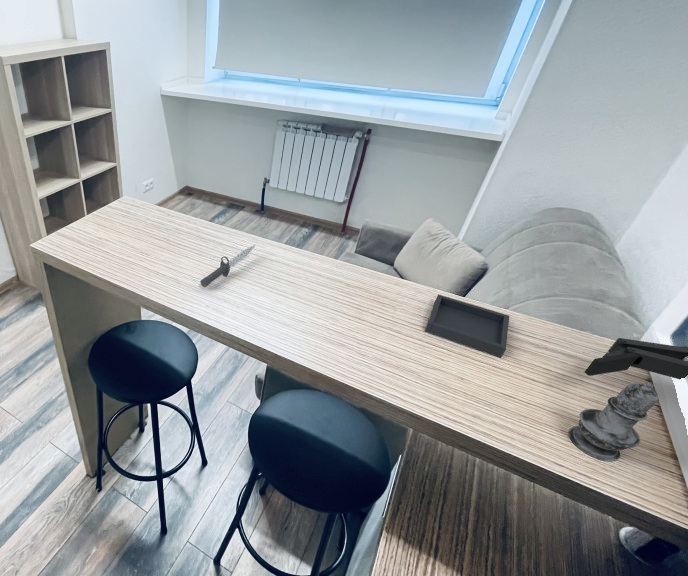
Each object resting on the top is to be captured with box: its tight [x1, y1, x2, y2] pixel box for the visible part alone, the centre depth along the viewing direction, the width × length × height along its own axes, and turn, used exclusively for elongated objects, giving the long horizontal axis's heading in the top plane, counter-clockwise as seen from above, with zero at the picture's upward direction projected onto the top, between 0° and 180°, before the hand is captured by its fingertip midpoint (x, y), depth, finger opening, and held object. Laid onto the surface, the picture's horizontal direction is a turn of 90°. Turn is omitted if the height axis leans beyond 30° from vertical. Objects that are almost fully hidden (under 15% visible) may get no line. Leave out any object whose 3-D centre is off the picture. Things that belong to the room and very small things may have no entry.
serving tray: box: [424, 294, 510, 358], centre depth 74 cm, size 12×11×2 cm
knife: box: [199, 244, 256, 288], centre depth 90 cm, size 19×2×5 cm, turn 137°
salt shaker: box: [567, 382, 660, 462], centre depth 51 cm, size 6×6×12 cm
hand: (645, 406), depth 51 cm, fingers open, 13 cm apart
